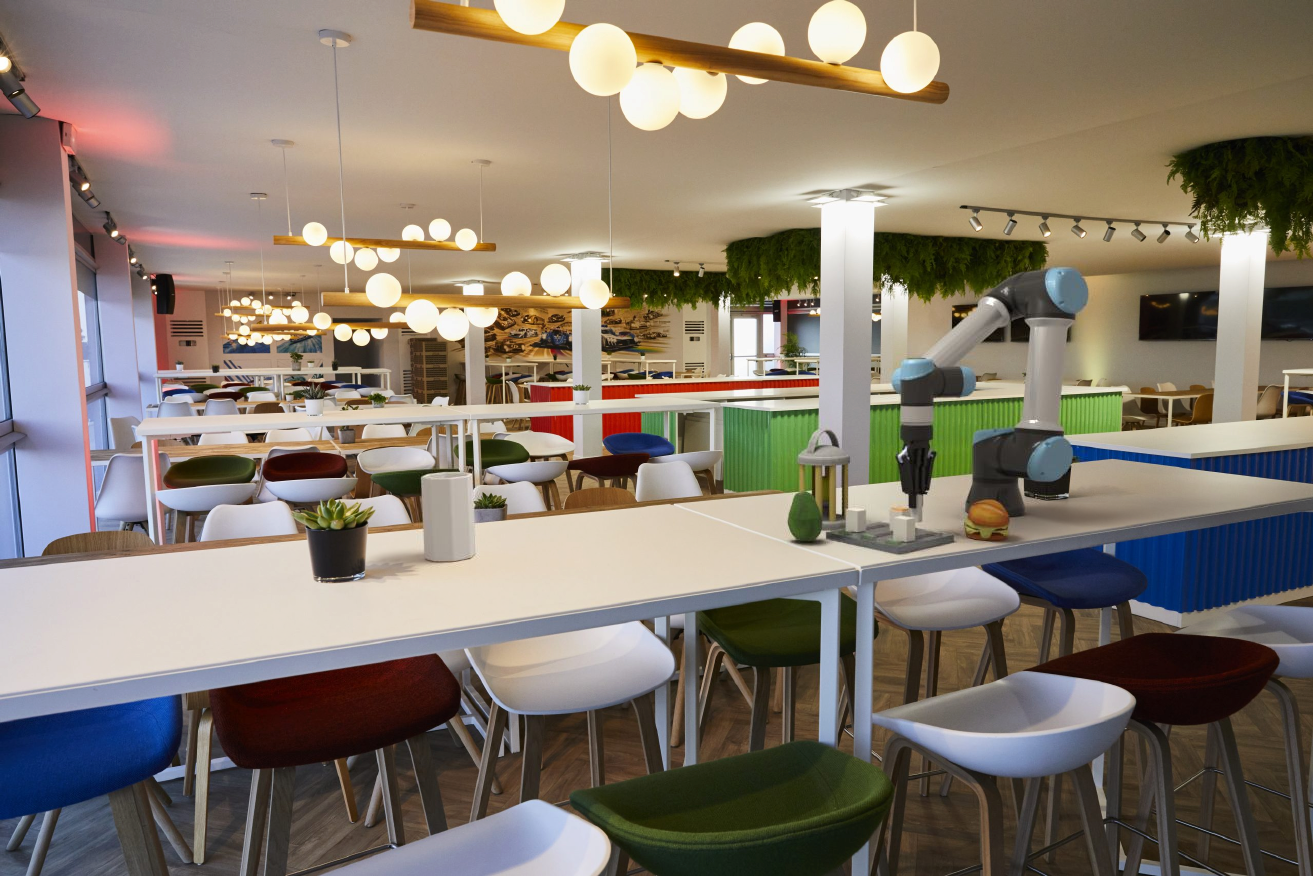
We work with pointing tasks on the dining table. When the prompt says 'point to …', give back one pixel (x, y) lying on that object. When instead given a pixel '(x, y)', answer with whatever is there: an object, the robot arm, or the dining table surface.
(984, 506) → the cheeseburger
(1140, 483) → the dining table surface
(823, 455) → the lantern
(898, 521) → the toggle high
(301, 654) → the dining table surface
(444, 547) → the cup
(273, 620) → the dining table surface
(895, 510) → the toggle mid
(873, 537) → the panel
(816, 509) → the avocado
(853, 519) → the toggle low
